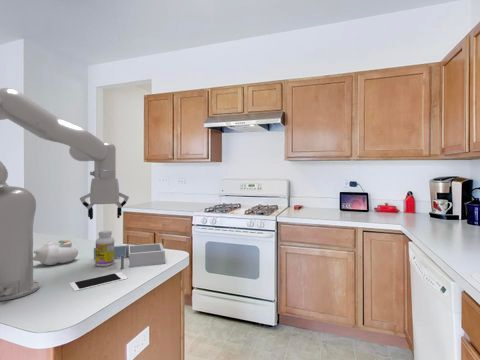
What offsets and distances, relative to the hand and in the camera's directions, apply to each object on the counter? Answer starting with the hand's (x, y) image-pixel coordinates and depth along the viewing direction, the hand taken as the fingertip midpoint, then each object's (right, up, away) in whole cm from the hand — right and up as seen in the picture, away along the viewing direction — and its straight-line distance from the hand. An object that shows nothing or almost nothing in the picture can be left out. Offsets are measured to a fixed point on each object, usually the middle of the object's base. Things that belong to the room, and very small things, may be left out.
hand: (105, 218), depth 108 cm
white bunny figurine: (-19, -18, 0) cm, 27 cm away
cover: (-1, -18, +7) cm, 19 cm away
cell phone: (+6, -19, -17) cm, 26 cm away
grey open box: (+13, -18, +5) cm, 23 cm away
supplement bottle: (0, -18, 0) cm, 18 cm away
